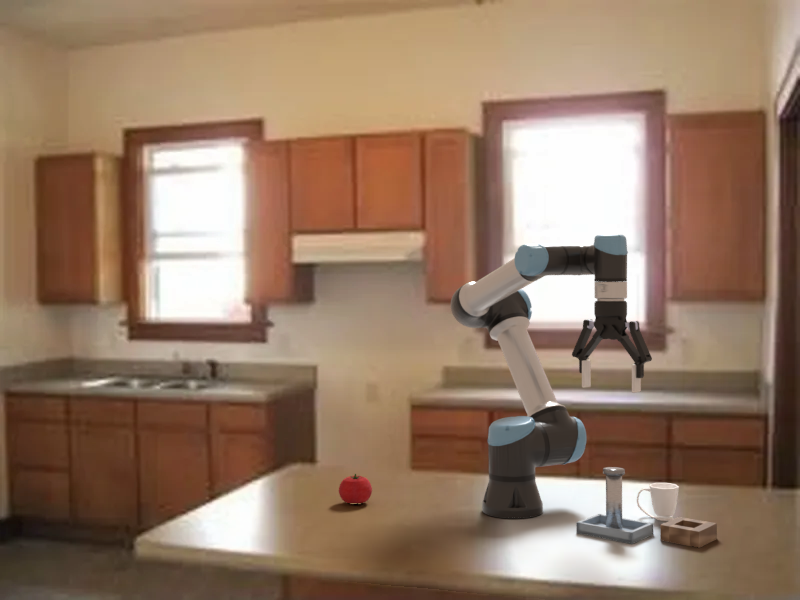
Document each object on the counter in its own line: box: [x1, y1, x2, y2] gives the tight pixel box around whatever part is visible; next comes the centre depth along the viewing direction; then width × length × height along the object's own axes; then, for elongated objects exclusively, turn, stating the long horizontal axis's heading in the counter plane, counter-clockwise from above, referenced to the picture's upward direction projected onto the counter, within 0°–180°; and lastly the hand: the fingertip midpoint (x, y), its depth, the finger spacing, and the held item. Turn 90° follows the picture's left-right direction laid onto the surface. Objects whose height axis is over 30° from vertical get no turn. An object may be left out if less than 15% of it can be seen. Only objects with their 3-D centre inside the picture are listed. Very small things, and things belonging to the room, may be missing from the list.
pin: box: [602, 466, 626, 530], centre depth 211 cm, size 5×5×14 cm
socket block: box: [659, 516, 718, 549], centre depth 205 cm, size 9×9×4 cm
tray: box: [575, 513, 654, 545], centre depth 211 cm, size 14×10×2 cm
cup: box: [636, 482, 680, 522], centre depth 224 cm, size 7×10×8 cm
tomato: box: [338, 473, 373, 504], centre depth 244 cm, size 9×9×8 cm
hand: (610, 389), depth 219 cm, fingers open, 13 cm apart
